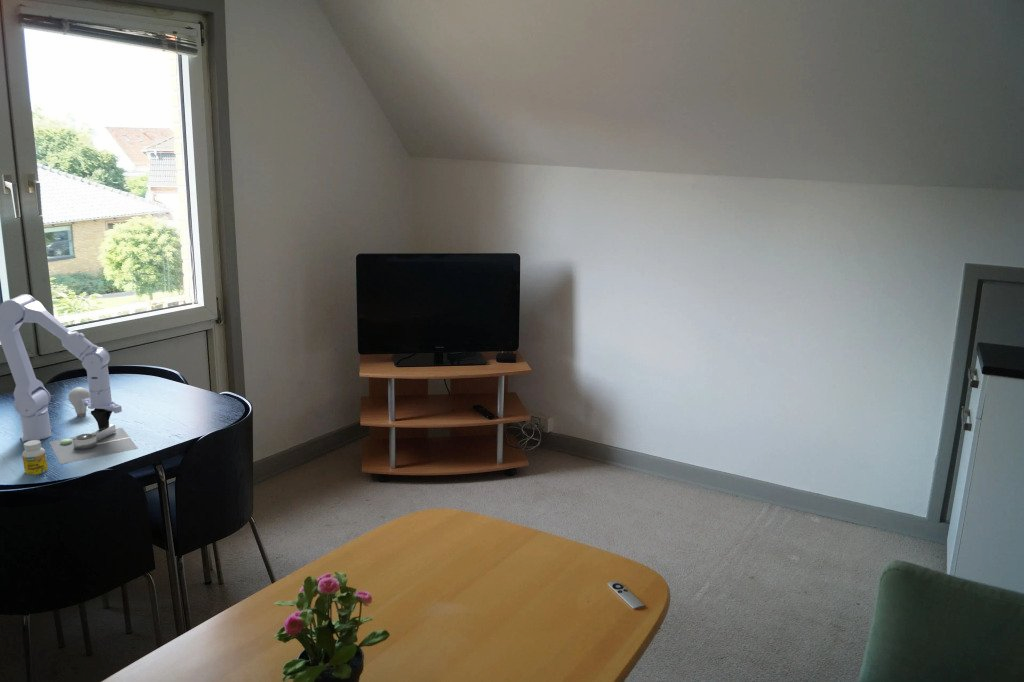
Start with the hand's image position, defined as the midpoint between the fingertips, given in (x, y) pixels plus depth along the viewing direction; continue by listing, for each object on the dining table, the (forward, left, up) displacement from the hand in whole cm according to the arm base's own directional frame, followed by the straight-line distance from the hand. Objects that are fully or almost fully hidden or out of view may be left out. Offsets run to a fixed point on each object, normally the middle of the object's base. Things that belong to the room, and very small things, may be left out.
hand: (104, 431), depth 241 cm
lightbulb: (-22, -2, -3) cm, 22 cm away
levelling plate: (+7, -4, -3) cm, 9 cm away
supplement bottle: (+18, -20, -3) cm, 27 cm away
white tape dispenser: (+4, -3, -1) cm, 5 cm away
